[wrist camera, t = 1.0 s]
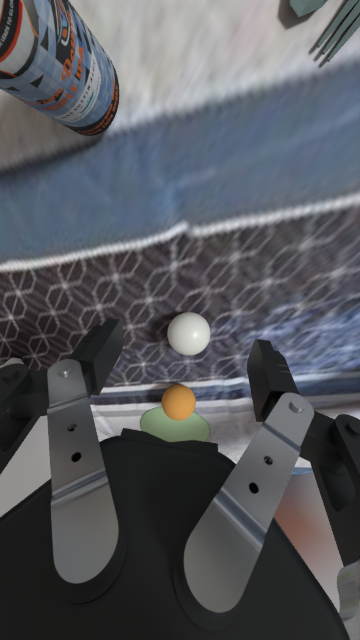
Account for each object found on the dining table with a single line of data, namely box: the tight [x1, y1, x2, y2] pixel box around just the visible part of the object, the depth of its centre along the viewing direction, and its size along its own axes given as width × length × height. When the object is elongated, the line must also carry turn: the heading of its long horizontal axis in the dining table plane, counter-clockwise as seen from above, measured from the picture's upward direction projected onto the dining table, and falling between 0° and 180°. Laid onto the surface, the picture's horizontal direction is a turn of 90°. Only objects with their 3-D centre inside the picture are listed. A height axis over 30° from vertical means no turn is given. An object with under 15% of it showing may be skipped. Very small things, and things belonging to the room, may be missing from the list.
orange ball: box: [162, 385, 196, 421], centre depth 37 cm, size 6×6×6 cm
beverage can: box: [0, 0, 119, 136], centre depth 15 cm, size 6×7×12 cm
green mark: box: [140, 407, 210, 442], centre depth 46 cm, size 14×14×1 cm
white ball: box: [167, 312, 210, 355], centre depth 29 cm, size 6×6×6 cm
